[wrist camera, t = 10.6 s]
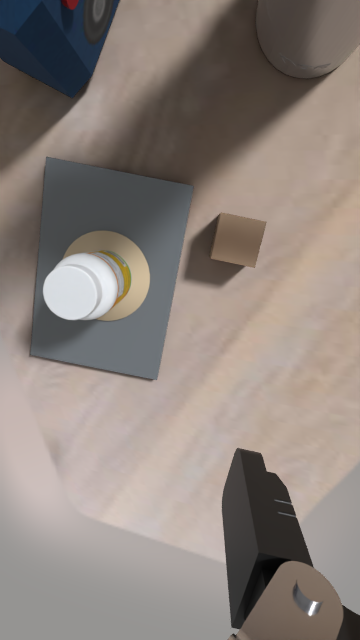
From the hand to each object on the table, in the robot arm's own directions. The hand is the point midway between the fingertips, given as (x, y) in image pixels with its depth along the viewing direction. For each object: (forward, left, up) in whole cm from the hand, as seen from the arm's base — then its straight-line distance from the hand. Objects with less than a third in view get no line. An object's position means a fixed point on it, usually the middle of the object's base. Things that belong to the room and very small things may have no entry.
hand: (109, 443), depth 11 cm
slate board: (-1, -7, -25) cm, 26 cm away
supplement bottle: (-1, -7, -24) cm, 25 cm away
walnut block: (-7, +5, -25) cm, 26 cm away
